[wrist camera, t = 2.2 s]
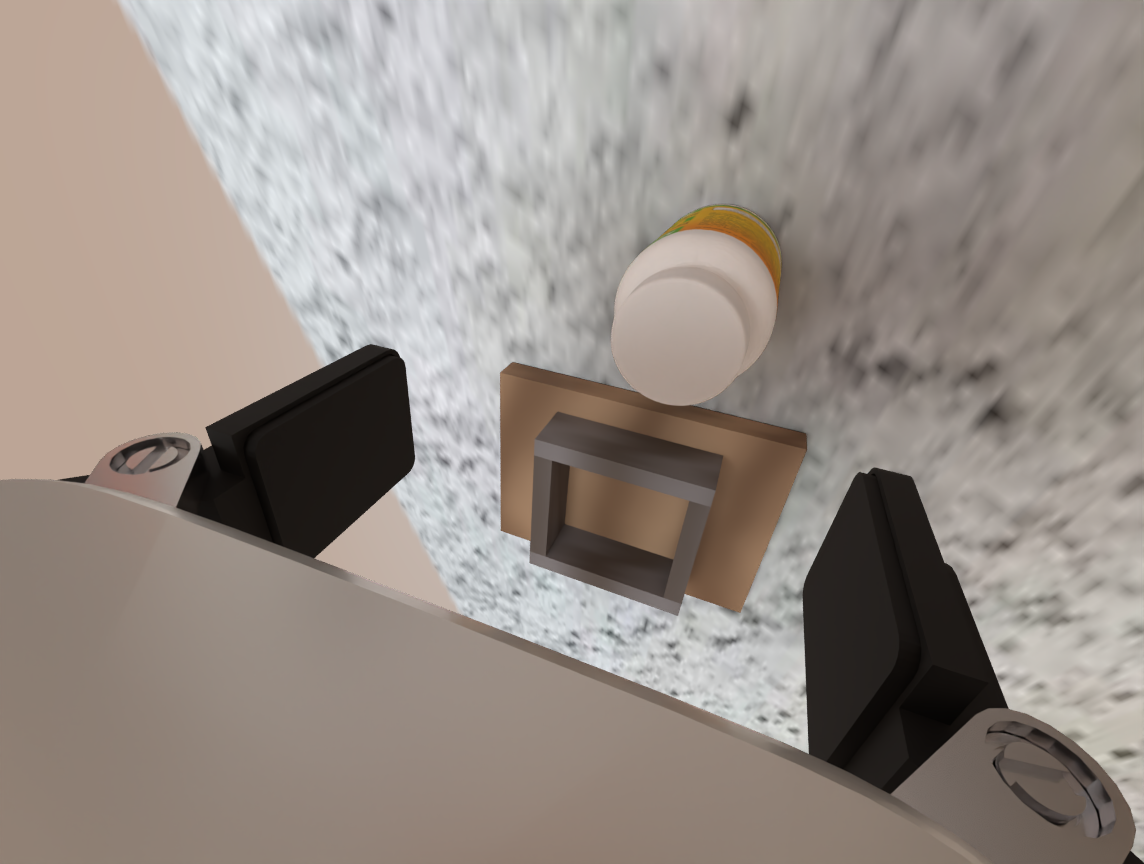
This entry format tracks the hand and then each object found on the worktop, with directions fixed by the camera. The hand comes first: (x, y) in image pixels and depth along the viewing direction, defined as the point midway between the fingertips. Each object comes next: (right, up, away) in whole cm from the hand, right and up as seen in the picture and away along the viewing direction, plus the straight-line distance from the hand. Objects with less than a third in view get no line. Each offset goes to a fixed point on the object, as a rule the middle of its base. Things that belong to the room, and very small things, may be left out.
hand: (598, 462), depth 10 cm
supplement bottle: (+6, +8, +12) cm, 16 cm away
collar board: (+3, -2, +20) cm, 20 cm away
